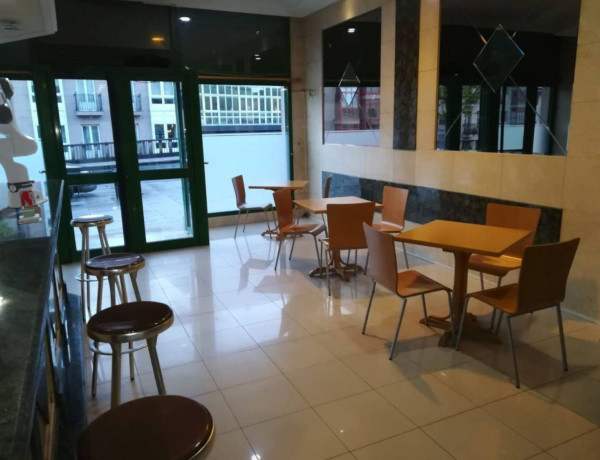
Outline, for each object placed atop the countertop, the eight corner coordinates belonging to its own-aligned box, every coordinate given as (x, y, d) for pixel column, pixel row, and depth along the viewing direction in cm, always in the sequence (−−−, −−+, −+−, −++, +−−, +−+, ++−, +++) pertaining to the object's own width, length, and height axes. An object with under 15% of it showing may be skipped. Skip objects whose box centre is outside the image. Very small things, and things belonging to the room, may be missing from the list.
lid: (20, 220, 236) (18, 210, 234) (39, 217, 240) (37, 207, 238) (20, 223, 229) (18, 213, 227) (40, 220, 233) (38, 210, 231)
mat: (18, 220, 236) (18, 220, 236) (41, 217, 241) (40, 216, 241) (18, 224, 227) (18, 223, 227) (42, 221, 232) (42, 220, 232)
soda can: (30, 212, 253) (26, 190, 250) (19, 212, 255) (15, 191, 252) (40, 210, 260) (36, 188, 257) (29, 210, 262) (25, 188, 258)
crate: (23, 216, 246) (21, 206, 245) (40, 213, 250) (39, 204, 249) (24, 218, 240) (22, 209, 238) (41, 216, 243) (40, 206, 242)
